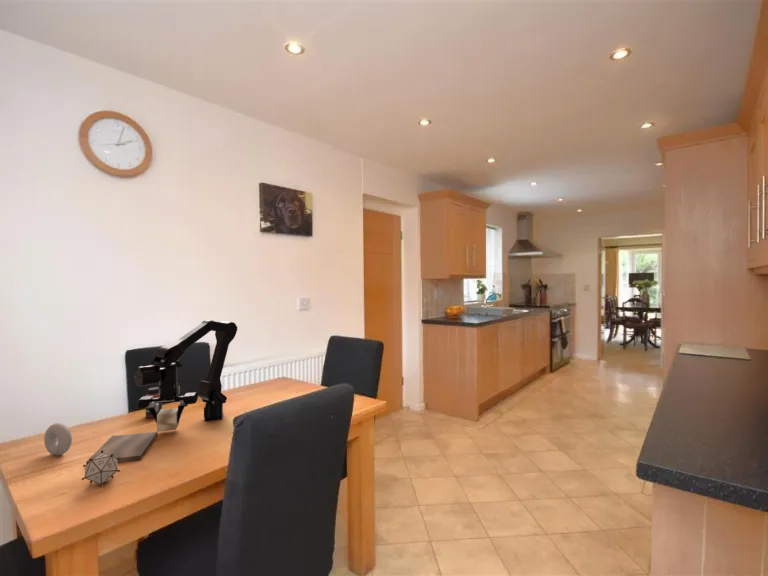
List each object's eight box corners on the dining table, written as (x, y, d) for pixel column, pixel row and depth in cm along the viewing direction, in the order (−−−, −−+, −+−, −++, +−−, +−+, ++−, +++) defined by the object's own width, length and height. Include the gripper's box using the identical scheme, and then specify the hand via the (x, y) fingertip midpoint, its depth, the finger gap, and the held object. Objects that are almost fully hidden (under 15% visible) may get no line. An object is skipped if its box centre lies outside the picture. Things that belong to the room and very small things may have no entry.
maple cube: (179, 423, 142) (179, 408, 142) (175, 429, 136) (175, 413, 136) (161, 425, 140) (161, 409, 140) (157, 431, 135) (156, 414, 134)
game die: (98, 494, 104) (99, 457, 109) (128, 482, 105) (128, 445, 110) (71, 493, 97) (73, 453, 101) (104, 480, 97) (105, 441, 102)
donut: (74, 454, 120) (74, 423, 120) (62, 459, 117) (62, 427, 117) (53, 450, 123) (53, 419, 123) (41, 454, 120) (41, 423, 120)
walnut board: (157, 435, 136) (157, 431, 136) (140, 460, 116) (140, 455, 116) (111, 440, 131) (111, 436, 131) (86, 466, 112) (86, 461, 112)
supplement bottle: (165, 413, 159) (165, 386, 159) (155, 418, 153) (155, 390, 153) (152, 413, 160) (152, 386, 159) (141, 417, 154) (141, 390, 154)
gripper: (200, 374, 149) (200, 413, 149) (145, 377, 143) (145, 418, 143) (195, 381, 138) (195, 423, 138) (136, 384, 132) (136, 429, 133)
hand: (168, 423), depth 138 cm, fingers closed on maple cube, 6 cm apart
